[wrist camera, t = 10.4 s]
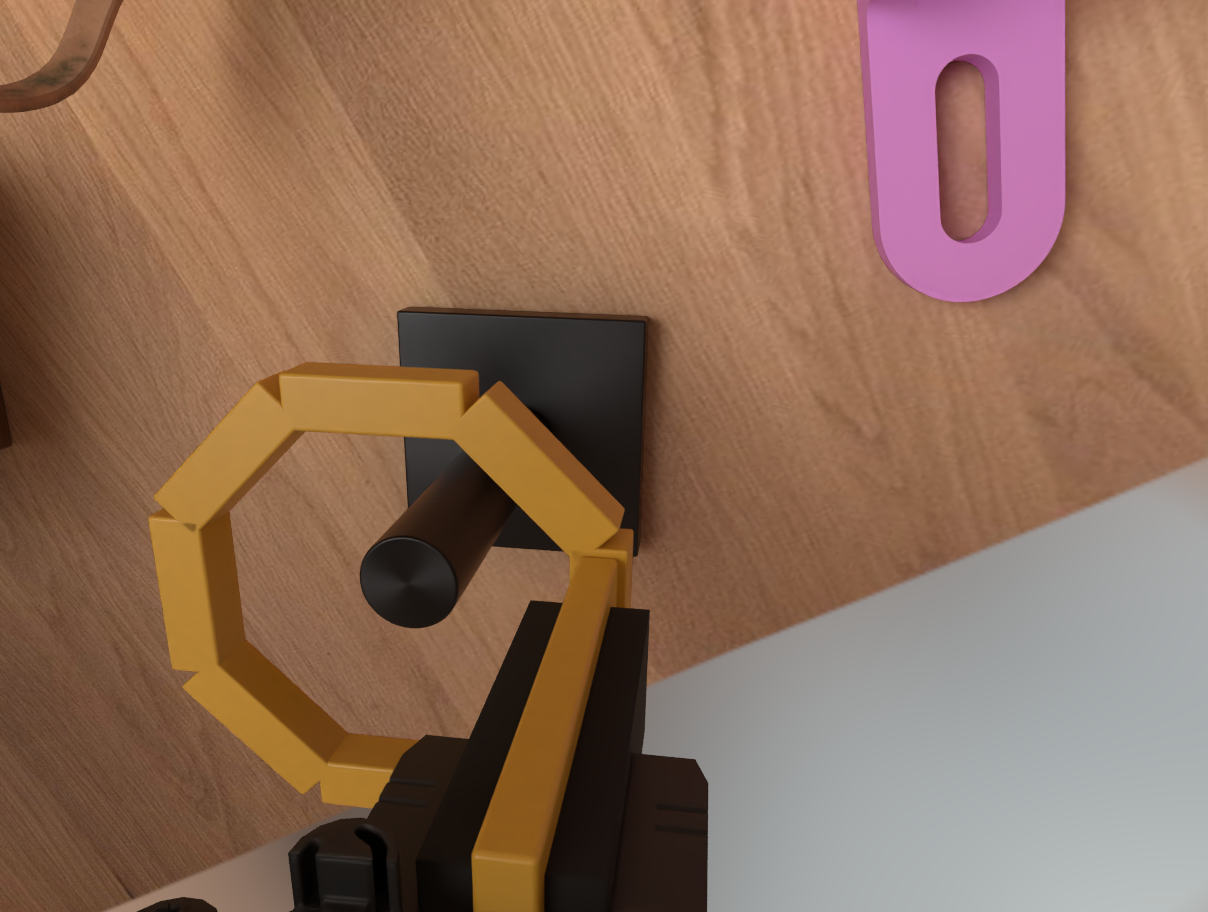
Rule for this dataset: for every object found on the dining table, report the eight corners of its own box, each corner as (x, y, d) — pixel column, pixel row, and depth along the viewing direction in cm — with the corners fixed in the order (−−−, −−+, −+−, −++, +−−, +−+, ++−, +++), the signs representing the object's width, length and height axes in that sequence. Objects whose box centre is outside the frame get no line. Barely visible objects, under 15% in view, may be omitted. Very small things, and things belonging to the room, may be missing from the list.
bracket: (849, -120, 25) (897, -230, 19) (1045, -164, 24) (1169, -295, 18) (877, 307, 29) (925, 342, 22) (1048, 283, 28) (1152, 312, 21)
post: (419, 529, 34) (247, 729, 21) (407, 306, 31) (202, 385, 18) (640, 544, 33) (595, 764, 20) (648, 315, 30) (603, 406, 17)
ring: (218, 757, 21) (-129, 1155, 12) (159, 354, 18) (-364, 509, 9) (623, 800, 20) (555, 1273, 11) (639, 377, 17) (558, 580, 8)
